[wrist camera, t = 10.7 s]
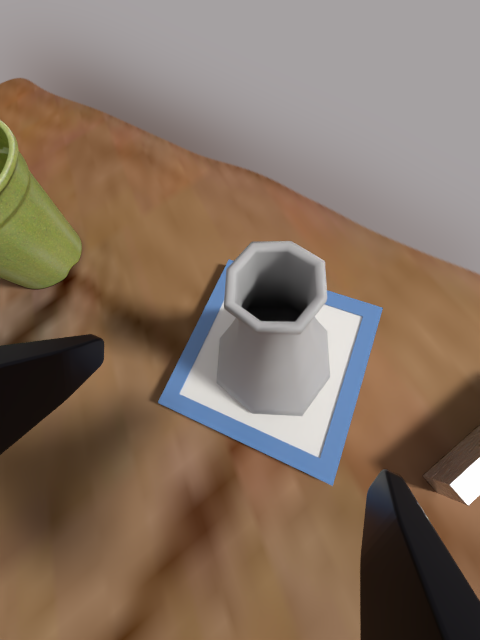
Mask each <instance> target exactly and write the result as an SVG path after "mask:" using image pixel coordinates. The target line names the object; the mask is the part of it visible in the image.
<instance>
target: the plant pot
mask: <svg viewBox="0 0 480 640" xmlns="http://www.w3.org/2000/svg"><path fill="white" fill-rule="evenodd" d="M81 250H82V244H81V240H80V238H79V236H78V235H77V233H76V232H75V231H74V229H73V228H72V227H71V225H70V224H69V223H68V222H67V220H66V219H65V218H64V216H63V215H62V214H61V212H60V211H59V210H58V208H57V207H56V206H55V204H54V203H53V202H52V200H51V199H50V198H49V196H48V195H47V194H46V192H45V191H44V190H43V188H42V187H41V186H40V184H39V183H38V182H37V181H36V179H35V178H34V176H33V175H32V174H31V172H30V171H29V170H28V166H27V164H26V161H25V160H24V158H23V156H22V155H21V154H20V152H19V151H18V144H17V141H16V138H15V136H14V134H13V133H12V131H11V130H10V129H9V128H8V126H7V125H6V124H5V123H3V122H2V121H0V278H3V279H5V280H8V281H10V282H13V283H15V284H18V285H21V286H24V287H27V288H31V289H41V288H46V287H49V286H52V285H54V284H56V283H58V282H60V281H61V280H63V279H64V278H65V277H66V276H67V275H68V272H69V270H70V269H71V267H72V266H73V265H74V264H76V263H77V262H78V261H79V259H80V256H81Z"/></svg>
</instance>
